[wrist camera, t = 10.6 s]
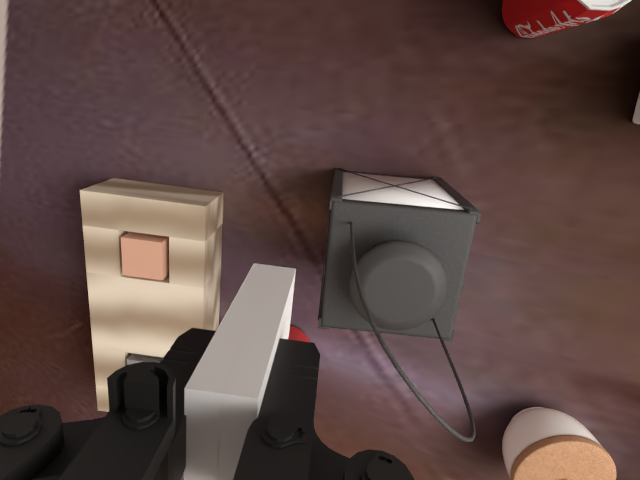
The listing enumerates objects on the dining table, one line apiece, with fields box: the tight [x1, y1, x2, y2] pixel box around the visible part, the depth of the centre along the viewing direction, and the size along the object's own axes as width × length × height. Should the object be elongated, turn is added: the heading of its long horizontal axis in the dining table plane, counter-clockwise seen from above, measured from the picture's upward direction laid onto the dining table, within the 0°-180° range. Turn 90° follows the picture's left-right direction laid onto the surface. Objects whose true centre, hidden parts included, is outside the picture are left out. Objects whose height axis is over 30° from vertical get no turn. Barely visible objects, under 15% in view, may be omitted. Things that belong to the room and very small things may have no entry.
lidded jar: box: [502, 407, 616, 480], centre depth 47 cm, size 11×11×9 cm
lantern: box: [318, 168, 481, 442], centre depth 31 cm, size 11×11×28 cm
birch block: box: [80, 178, 224, 412], centre depth 46 cm, size 26×12×6 cm, turn 173°
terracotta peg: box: [121, 232, 169, 280], centre depth 43 cm, size 4×4×6 cm
